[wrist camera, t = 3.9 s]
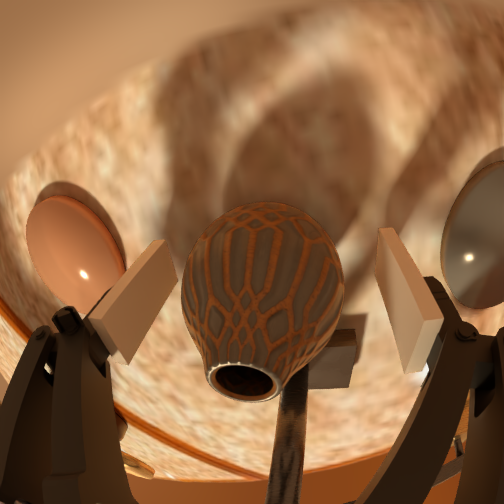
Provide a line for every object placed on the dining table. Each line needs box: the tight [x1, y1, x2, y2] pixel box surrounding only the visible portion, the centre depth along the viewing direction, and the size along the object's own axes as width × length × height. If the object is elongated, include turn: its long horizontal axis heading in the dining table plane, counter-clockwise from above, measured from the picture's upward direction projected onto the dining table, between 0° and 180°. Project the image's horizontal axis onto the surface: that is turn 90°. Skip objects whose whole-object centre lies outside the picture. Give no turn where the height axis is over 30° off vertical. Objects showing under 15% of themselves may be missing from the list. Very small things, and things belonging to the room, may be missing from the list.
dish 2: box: [440, 161, 504, 309], centre depth 12 cm, size 10×10×1 cm
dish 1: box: [26, 195, 125, 315], centre depth 18 cm, size 10×10×1 cm
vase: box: [181, 202, 344, 403], centre depth 12 cm, size 7×7×9 cm
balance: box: [121, 329, 470, 504], centre depth 13 cm, size 26×5×15 cm, turn 98°
